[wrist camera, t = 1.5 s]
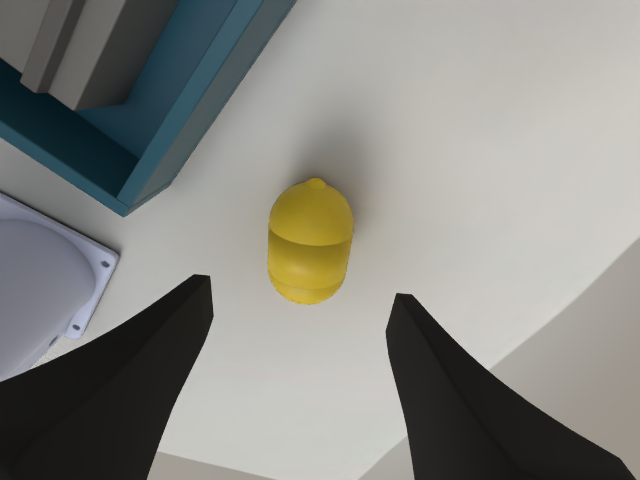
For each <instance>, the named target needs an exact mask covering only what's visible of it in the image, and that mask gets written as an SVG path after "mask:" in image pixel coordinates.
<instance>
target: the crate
mask: <svg viewBox="0 0 640 480" xmlns="http://www.w3.org/2000/svg"><path fill="white" fill-rule="evenodd" d="M296 1H297V0H179V2H178V4H177V6H176V7H175V9H174V11H173V13H172V15H171V17H170V19H169V21H168V22H167V24H166V26H165V28H164V30H163V32H162V34H161V35H160V37H159V39H158V41H157V43H156V45H155V47H154V48H153V50H152V52H151V54H150V56H149V58H148V60H147V61H146V63H145V65H144V67H143V69H142V71H141V73H140V75H139V76H138V78H137V80H136V82H135V84H134V86H133V88H132V89H131V91H130V93H129V95H128V97H127V99H126V101H125V102H124V104H121V105H114V106H106V107H99V108H91V109H84V110H76V111H74V110H72V109H70V108H69V107H67V106H66V105H65V104H63V103H62V102H61V101H59V100H58V99H56V98H55V97H54V96H52V95H51V94H50V93H48V92H46V93H35V92H33V91H31V90H30V89H29V88H27V87H26V86H25V85H23V84H22V83H21V82H20V80H21V77H22V73H21V72H20V71H18V70H17V69H15V68H14V67H13V66H11V65H10V64H9V63H7V62H6V61H4V60H3V59H2V58H0V137H1V138H2V139H4V140H6V141H7V142H9V143H10V144H12V145H13V146H15V147H16V148H18V149H19V150H21V151H22V152H24V153H25V154H27V155H28V156H30V157H31V158H33V159H35V160H36V161H38V162H39V163H41V164H42V165H44V166H45V167H47V168H48V169H50V170H51V171H53V172H54V173H56V174H57V175H59V176H61V177H62V178H64V179H65V180H67V181H68V182H70V183H71V184H73V185H74V186H76V187H77V188H79V189H80V190H82V191H83V192H85V193H87V194H88V195H90V196H91V197H93V198H94V199H96V200H97V201H99V202H100V203H102V204H103V205H105V206H106V207H108V208H109V209H111V210H112V211H114V212H116V213H117V214H119V215H120V216H122V217H125V216H127V215H128V214H130V213H131V212H133V211H134V210H136V209H137V208H138V207H140V206H141V205H143V204H144V203H146V202H147V201H148V200H150V199H151V198H153V197H154V196H156V195H157V194H158V193H160V192H161V191H163V190H164V189H166V188H167V187H169V186H170V184H171V183H172V181H173V180H174V178H175V177H176V175H177V174H178V172H179V171H180V170H181V168H182V167H183V165H184V164H185V162H186V161H187V159H188V158H189V156H190V155H191V154H192V152H193V151H194V149H195V148H196V146H197V145H198V143H199V142H200V140H201V139H202V138H203V136H204V135H205V133H206V132H207V130H208V129H209V127H210V126H211V124H212V123H213V122H214V120H215V119H216V117H217V116H218V114H219V113H220V111H221V110H222V108H223V107H224V105H225V104H226V103H227V101H228V100H229V98H230V97H231V95H232V94H233V92H234V91H235V89H236V88H237V87H238V85H239V84H240V82H241V81H242V79H243V78H244V76H245V75H246V73H247V72H248V71H249V69H250V68H251V66H252V65H253V63H254V62H255V60H256V59H257V57H258V56H259V55H260V53H261V52H262V50H263V49H264V47H265V46H266V44H267V43H268V41H269V40H270V39H271V37H272V36H273V34H274V33H275V31H276V30H277V28H278V27H279V25H280V24H281V22H282V21H283V20H284V18H285V17H286V15H287V14H288V12H289V11H290V9H291V8H292V6H293V5H294V4H295V2H296Z"/></svg>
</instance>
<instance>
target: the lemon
mask: <svg viewBox="0 0 640 480" xmlns="http://www.w3.org/2000/svg"><path fill="white" fill-rule="evenodd" d="M353 230H354V219H353V213H352V210H351V208H350V205H349V203H348V202H347V200H346V199H345V197H344V196H343V195H342V194H341V193H340V192H338V191H337V190H336V189H334V188H333V187H331V186H329V185H327V184H325V182H324V181H323V180H321V179H320V178H311V179H309V180H308V181H307V182H303V183H299V184H296V185H294V186H292V187H290V188H288V189H287V190H285V191H284V192H283V193H282V194H281V195H280V196H279V197H278V199H277V200H276V202H275V203H274V205H273V207H272V210H271V212H270V218H269V231H268V273H269V277H270V280H271V282H272V284H273V286H274V287H275V289H276V290H277V291H278V292H279V293H280V294H281V295H282V296H283V297H285V298H286V299H287V300H289V301H291V302H294V303H297V304H303V305H311V304H317V303H320V302H322V301H325V300H327V299H328V298H330V297H331V296H332V295H334V294H335V293H336V292H337V290H338V289H339V288H340V286H341V285H342V283H343V281H344V278H345V275H346V271H347V265H348V259H349V254H350V248H351V243H352V237H353Z"/></svg>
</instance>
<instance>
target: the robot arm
mask: <svg viewBox="0 0 640 480" xmlns="http://www.w3.org/2000/svg"><path fill="white" fill-rule="evenodd" d="M118 260H119V257H118V255H117V253H116V252H114V251H112V250H110V249H108V248H107V247H105V246H103V245H101V244H99V243H97V242H95V241H93V240H91V239H89V238H87V237H85V236H83V235H81V234H79V233H78V232H76V231H74V230H72V229H70V228H68V227H66V226H64V225H62V224H60V223H58V222H56V221H54V220H52V219H50V218H49V217H47V216H45V215H43V214H41V213H39V212H37V211H35V210H33V209H31V208H29V207H27V206H25V205H23V204H21V203H20V202H18V201H16V200H14V199H12V198H10V197H8V196H6V195H4V194H2V193H0V480H147V477H148V474H149V471H150V468H151V465H152V462H153V460H154V456H155V454H156V451H157V449H158V446H159V443H160V440H161V437H162V435H163V432H164V430H165V427H166V424H167V422H168V419H169V417H170V414H171V411H172V409H173V406H174V404H175V402H176V400H177V397H178V395H179V393H180V391H181V389H182V387H183V385H184V383H185V381H186V379H187V377H188V375H189V373H190V371H191V369H192V367H193V365H194V363H195V361H196V359H197V357H198V355H199V353H200V351H201V349H202V347H203V345H204V342H205V340H206V337H207V335H208V332H209V329H210V326H211V323H212V320H213V317H214V315H213V304H212V292H211V280H210V276H207V275H197V274H194V275H192V276H191V277H189V278H188V279H187V280H185V281H184V282H182V283H181V284H180V285H178V286H177V287H176V288H174V289H173V290H172V291H170V292H169V293H167V294H166V295H165V296H163V297H162V298H160V299H159V300H157V301H156V302H155V303H153V304H152V305H150V306H149V307H147V308H146V309H144V310H143V311H141V312H140V313H138V314H137V315H135V316H133V317H132V318H130V319H129V320H127V321H126V322H124V323H122V324H121V325H119V326H117V327H116V328H114V329H112V330H111V331H109V332H107V333H105V334H103V335H102V336H100V337H98V338H96V339H94V340H92V341H91V342H89V343H87V344H85V345H83V346H81V347H79V348H76V349H74V350H72V351H70V352H68V353H66V354H64V355H62V356H60V357H58V358H56V359H53V360H51V361H49V362H47V363H45V364H42V365H40V366H38V367H35V368H33V369H31V370H29V369H30V368H31V367H32V366H33V365H34V364H35V363H36V362H37V361H38V360H39V359H40V358H41V357H42V356H43V355H44V354H45V353H46V352H47V351H48V350H49V349H50V348H51V347H52V346H53V345H54V344H55V343H56V342H57V341H58V340H59V339H60V338H61V337H62V336H66V337H68V338H71V339H75V340H76V339H79V338H80V337H81V336H82V335H83V333H84V331H85V329H86V327H87V325H88V322H89V320H90V318H91V316H92V314H93V312H94V310H95V308H96V306H97V304H98V302H99V300H100V297H101V295H102V293H103V291H104V289H105V287H106V285H107V283H108V281H109V279H110V277H111V275H112V273H113V270H114V268H115V266H116V264H117V262H118ZM105 261H107V262H108V263H109V264H107V263H106V262H105ZM386 340H387V348H388V355H389V359H390V363H391V367H392V371H393V375H394V379H395V383H396V387H397V390H398V394H399V398H400V402H401V405H402V409H403V413H404V418H405V422H406V427H407V433H408V439H409V445H410V451H411V457H412V464H413V471H414V478H415V480H636V479H635V477H634V476H633V475H632V473H631V472H630V471H629V470H628V469H627V467H626V466H625V464H624V463H623V462H622V460H621V459H620V458H618V457H617V456H615V455H613V454H611V453H610V452H608V451H606V450H604V449H603V448H601V447H599V446H598V445H596V444H594V443H593V442H591V441H589V440H587V439H586V438H584V437H582V436H580V435H579V434H577V433H575V432H574V431H572V430H570V429H569V428H567V427H566V426H564V425H563V424H561V423H560V422H558V421H557V420H555V419H553V418H552V417H550V416H549V415H547V414H546V413H544V412H543V411H541V410H540V409H538V408H537V407H535V406H534V405H532V404H531V403H529V402H528V401H527V400H525V399H524V398H523V397H521V396H520V395H518V394H517V393H516V392H515V391H513V390H512V389H510V388H509V387H508V386H506V385H505V384H504V383H503V382H501V381H500V380H499V379H497V378H496V377H495V376H494V375H493V374H491V373H490V372H489V371H488V370H487V369H485V368H484V367H483V366H482V365H481V364H479V363H478V362H477V361H476V360H475V359H474V358H473V357H472V356H471V355H469V354H468V353H467V352H466V351H465V350H464V349H463V348H462V347H461V346H460V345H459V344H458V343H457V342H456V341H455V340H454V339H453V338H452V337H451V336H450V335H449V334H448V333H447V332H446V331H445V330H444V329H443V328H442V327H441V326H440V325H439V324H438V322H437V321H436V320H435V319H434V318H433V317H432V316H431V315H430V314H429V313H428V312H427V310H426V309H425V308H424V307H423V306H422V305H421V304H420V303H419V302H418V300H417V299H416V298H415V297H414V296H413V295H412V294H401V293H396V296H395V300H394V304H393V307H392V311H391V314H390V318H389V321H388V325H387V328H386Z"/></svg>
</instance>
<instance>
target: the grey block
mask: <svg viewBox="0 0 640 480" xmlns="http://www.w3.org/2000/svg"><path fill="white" fill-rule="evenodd" d="M178 2H179V0H0V58H2V59H3V60H4V61H6V62H7V63H9V64H10V65H11V66H13V67H14V68H15V69H17V70H18V71H20V72H21V73H22V77H21V80H20V82H21V83H22V84H23V85H25V86H26V87H27V88H29V89H30V90H31V91H33V92H35V93H46V92H48V93H50V94H51V95H52V96H54V97H55V98H56V99H58V100H59V101H61V102H62V103H63V104H65V105H66V106H67V107H69V108H70V109H72V110H74V111H76V110H84V109H91V108H99V107H106V106H114V105H121V104H124V102H125V101H126V99H127V97H128V95H129V93H130V91H131V89H132V88H133V86H134V84H135V82H136V80H137V78H138V76H139V75H140V73H141V71H142V69H143V67H144V65H145V63H146V61H147V60H148V58H149V56H150V54H151V52H152V50H153V48H154V47H155V45H156V43H157V41H158V39H159V37H160V35H161V34H162V32H163V30H164V28H165V26H166V24H167V22H168V21H169V19H170V17H171V15H172V13H173V11H174V9H175V7H176V6H177V4H178Z"/></svg>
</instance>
